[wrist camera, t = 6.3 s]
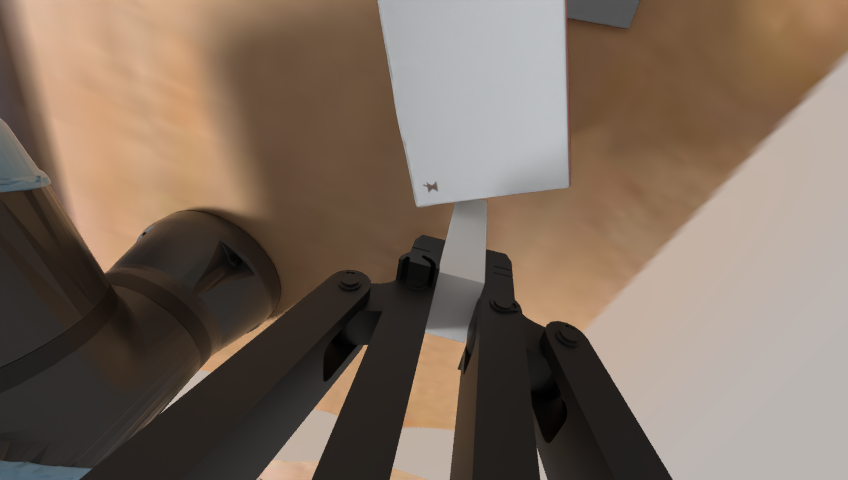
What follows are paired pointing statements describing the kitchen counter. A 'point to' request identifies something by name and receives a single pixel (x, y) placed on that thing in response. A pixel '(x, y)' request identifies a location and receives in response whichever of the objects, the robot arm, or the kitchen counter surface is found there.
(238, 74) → the kitchen counter surface
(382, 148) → the kitchen counter surface
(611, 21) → the mat
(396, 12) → the small box
